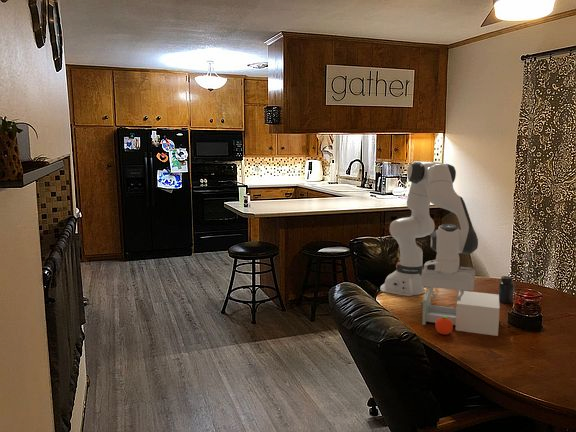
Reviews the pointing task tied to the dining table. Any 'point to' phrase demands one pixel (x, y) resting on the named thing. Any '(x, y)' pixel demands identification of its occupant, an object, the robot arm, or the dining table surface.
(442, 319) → the clementine
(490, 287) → the dining table surface
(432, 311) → the grey drawer
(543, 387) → the dining table surface
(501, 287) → the supplement bottle
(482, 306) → the block
